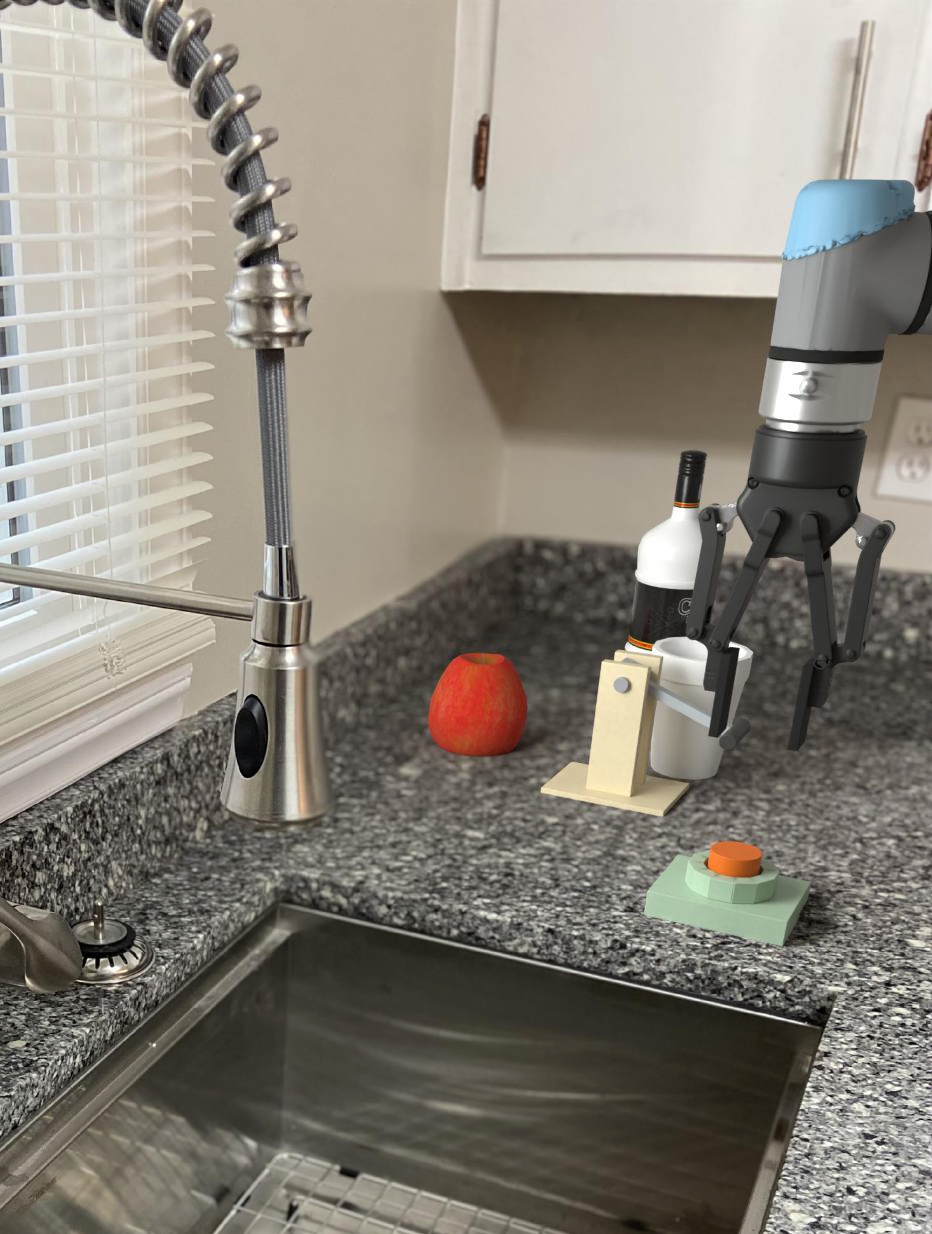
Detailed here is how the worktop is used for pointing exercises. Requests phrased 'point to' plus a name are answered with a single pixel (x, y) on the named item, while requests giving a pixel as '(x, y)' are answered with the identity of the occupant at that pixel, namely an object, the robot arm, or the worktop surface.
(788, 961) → the worktop surface
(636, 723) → the bracket
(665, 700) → the lever
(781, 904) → the control block
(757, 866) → the button
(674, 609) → the vodka
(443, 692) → the apple
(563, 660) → the worktop surface
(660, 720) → the foam cup
